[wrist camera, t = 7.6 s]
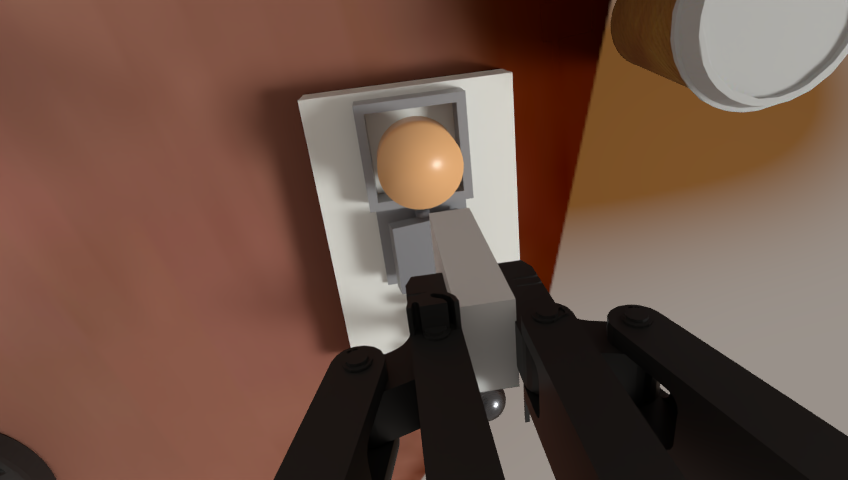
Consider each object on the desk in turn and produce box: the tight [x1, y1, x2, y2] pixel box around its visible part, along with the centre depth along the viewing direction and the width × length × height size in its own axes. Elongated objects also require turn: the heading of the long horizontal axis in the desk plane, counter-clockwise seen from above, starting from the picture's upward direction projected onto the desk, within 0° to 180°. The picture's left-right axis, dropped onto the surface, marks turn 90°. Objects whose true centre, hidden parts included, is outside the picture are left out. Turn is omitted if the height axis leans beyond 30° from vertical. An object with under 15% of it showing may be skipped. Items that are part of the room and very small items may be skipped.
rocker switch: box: [388, 208, 457, 294], centre depth 35 cm, size 5×6×2 cm
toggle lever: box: [480, 389, 506, 421], centre depth 34 cm, size 3×3×10 cm
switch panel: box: [298, 69, 520, 354], centre depth 36 cm, size 14×22×5 cm, turn 7°
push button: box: [377, 116, 464, 210], centre depth 30 cm, size 5×5×3 cm
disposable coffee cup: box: [611, 0, 848, 112], centre depth 29 cm, size 10×10×12 cm
